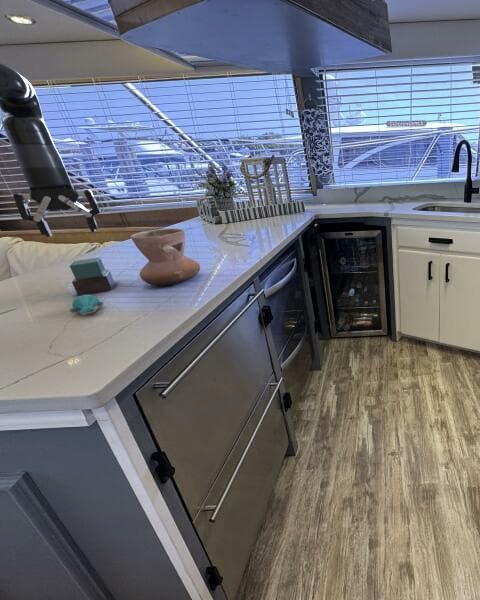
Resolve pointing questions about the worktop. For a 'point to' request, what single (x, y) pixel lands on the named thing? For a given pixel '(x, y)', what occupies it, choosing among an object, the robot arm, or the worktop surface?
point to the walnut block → (94, 284)
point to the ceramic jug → (165, 257)
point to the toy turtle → (85, 304)
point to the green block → (87, 268)
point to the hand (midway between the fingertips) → (72, 234)
